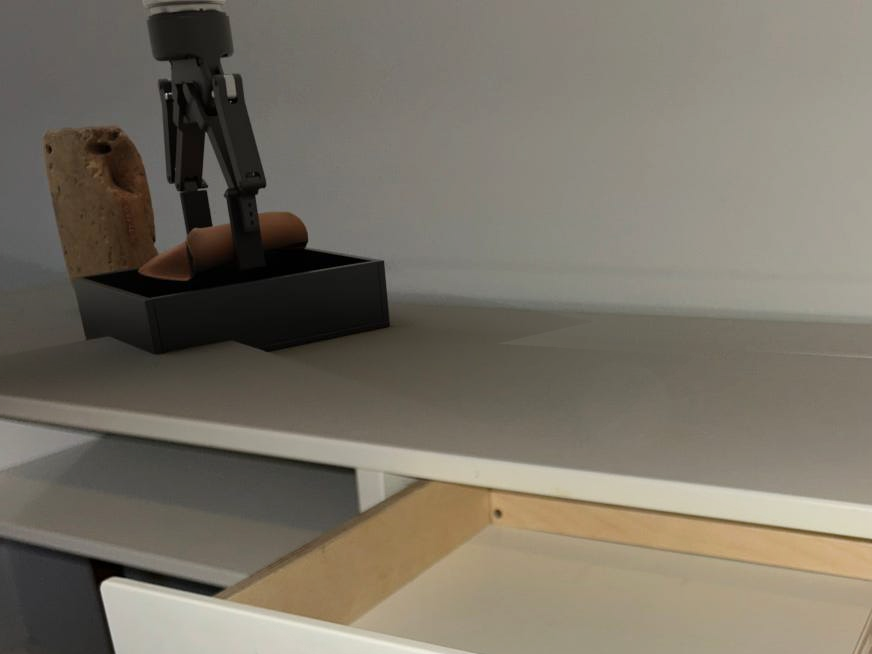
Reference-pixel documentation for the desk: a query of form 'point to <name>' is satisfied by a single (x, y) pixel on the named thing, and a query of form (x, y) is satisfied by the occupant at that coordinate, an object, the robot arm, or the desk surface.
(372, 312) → the open box
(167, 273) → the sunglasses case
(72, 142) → the block
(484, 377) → the desk surface
